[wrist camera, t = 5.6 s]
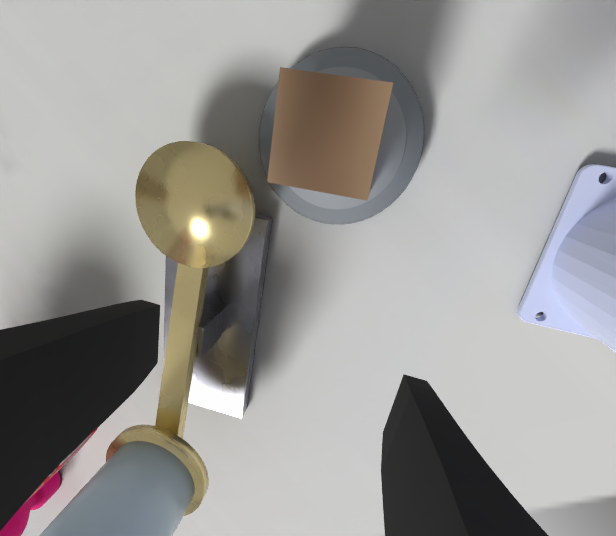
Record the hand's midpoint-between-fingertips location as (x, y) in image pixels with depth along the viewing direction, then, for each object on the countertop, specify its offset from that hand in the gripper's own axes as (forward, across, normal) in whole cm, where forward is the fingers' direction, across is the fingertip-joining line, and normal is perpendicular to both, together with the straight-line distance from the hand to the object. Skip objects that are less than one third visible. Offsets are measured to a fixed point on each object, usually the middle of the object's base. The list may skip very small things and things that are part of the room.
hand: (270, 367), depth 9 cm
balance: (+10, +6, +5) cm, 13 cm away
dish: (+10, +1, -6) cm, 12 cm away
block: (+9, 0, -6) cm, 11 cm away
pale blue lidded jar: (+4, +6, +12) cm, 15 cm away
